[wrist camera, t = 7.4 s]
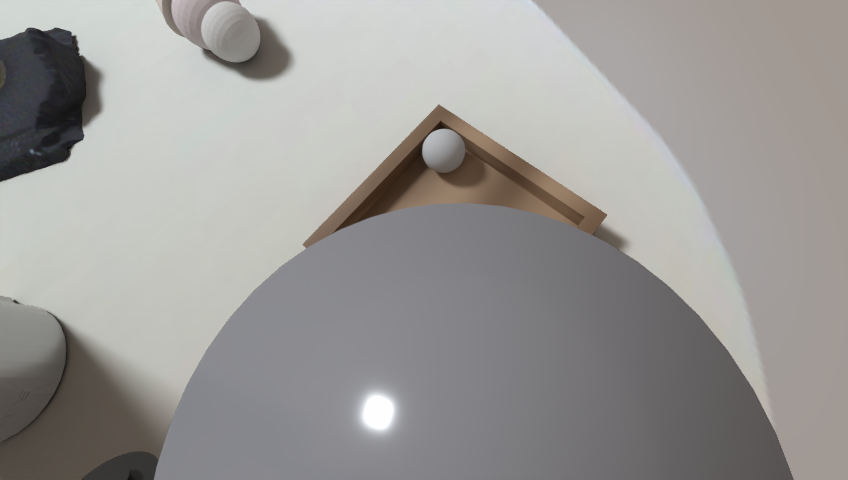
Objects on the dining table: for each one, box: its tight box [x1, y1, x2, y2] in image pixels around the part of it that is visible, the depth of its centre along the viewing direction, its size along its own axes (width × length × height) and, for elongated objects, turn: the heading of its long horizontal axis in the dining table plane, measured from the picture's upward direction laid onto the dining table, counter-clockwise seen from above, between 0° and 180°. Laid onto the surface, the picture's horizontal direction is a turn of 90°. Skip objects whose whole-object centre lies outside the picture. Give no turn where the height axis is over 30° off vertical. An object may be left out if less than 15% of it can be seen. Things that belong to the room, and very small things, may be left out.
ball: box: [422, 129, 465, 173], centre depth 28 cm, size 3×3×3 cm
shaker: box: [154, 203, 794, 480], centre depth 9 cm, size 5×5×12 cm
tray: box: [302, 105, 607, 248], centre depth 27 cm, size 14×14×2 cm
